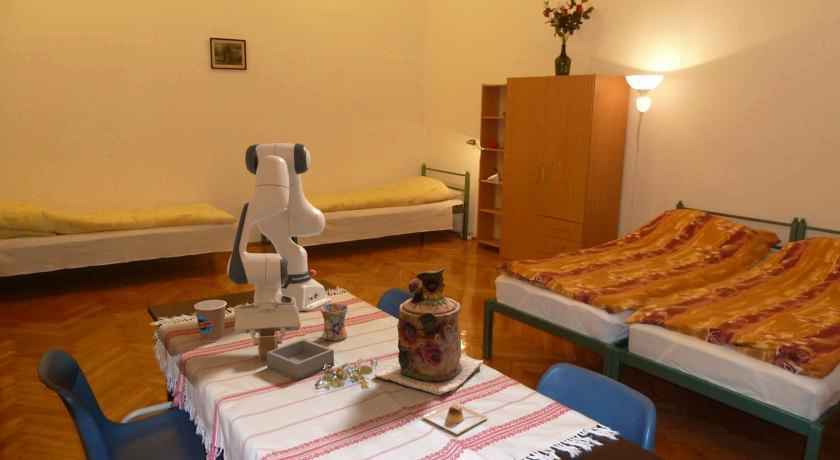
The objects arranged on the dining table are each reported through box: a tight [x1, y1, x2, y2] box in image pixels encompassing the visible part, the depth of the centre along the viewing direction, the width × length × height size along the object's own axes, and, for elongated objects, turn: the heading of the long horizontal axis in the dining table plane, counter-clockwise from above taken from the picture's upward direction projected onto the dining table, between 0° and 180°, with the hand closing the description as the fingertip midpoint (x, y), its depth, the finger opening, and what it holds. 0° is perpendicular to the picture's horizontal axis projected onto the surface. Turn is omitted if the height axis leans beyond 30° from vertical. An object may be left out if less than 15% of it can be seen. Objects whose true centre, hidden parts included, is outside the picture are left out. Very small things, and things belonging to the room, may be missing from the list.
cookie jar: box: [374, 268, 484, 396], centre depth 176 cm, size 25×25×32 cm
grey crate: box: [266, 338, 335, 382], centre depth 182 cm, size 14×14×5 cm
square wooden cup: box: [257, 329, 279, 363], centre depth 188 cm, size 6×6×8 cm
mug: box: [319, 303, 349, 342], centre depth 206 cm, size 12×9×11 cm
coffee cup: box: [193, 299, 228, 343], centre depth 204 cm, size 10×10×12 cm
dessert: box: [421, 400, 489, 435], centre depth 152 cm, size 12×12×5 cm
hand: (268, 343), depth 188 cm, fingers closed on square wooden cup, 5 cm apart
